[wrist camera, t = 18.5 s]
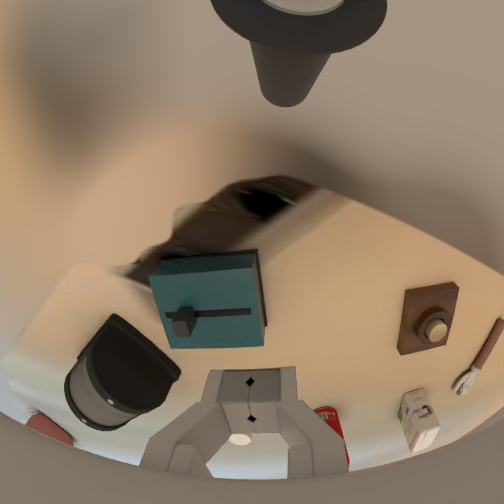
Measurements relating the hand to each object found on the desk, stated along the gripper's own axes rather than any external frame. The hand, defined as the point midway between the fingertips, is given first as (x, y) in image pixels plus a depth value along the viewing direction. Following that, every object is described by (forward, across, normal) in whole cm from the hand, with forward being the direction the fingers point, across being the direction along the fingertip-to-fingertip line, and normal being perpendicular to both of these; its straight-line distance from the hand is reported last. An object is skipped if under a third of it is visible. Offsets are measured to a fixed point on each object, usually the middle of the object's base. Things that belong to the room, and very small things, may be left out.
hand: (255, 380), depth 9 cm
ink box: (+30, -27, +45) cm, 61 cm away
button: (+27, -25, +21) cm, 42 cm away
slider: (+24, +12, +12) cm, 30 cm away
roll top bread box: (+30, +32, +27) cm, 52 cm away
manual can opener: (+30, -43, +36) cm, 64 cm away
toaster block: (+30, +10, +12) cm, 34 cm away
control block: (+30, -25, +21) cm, 45 cm away
